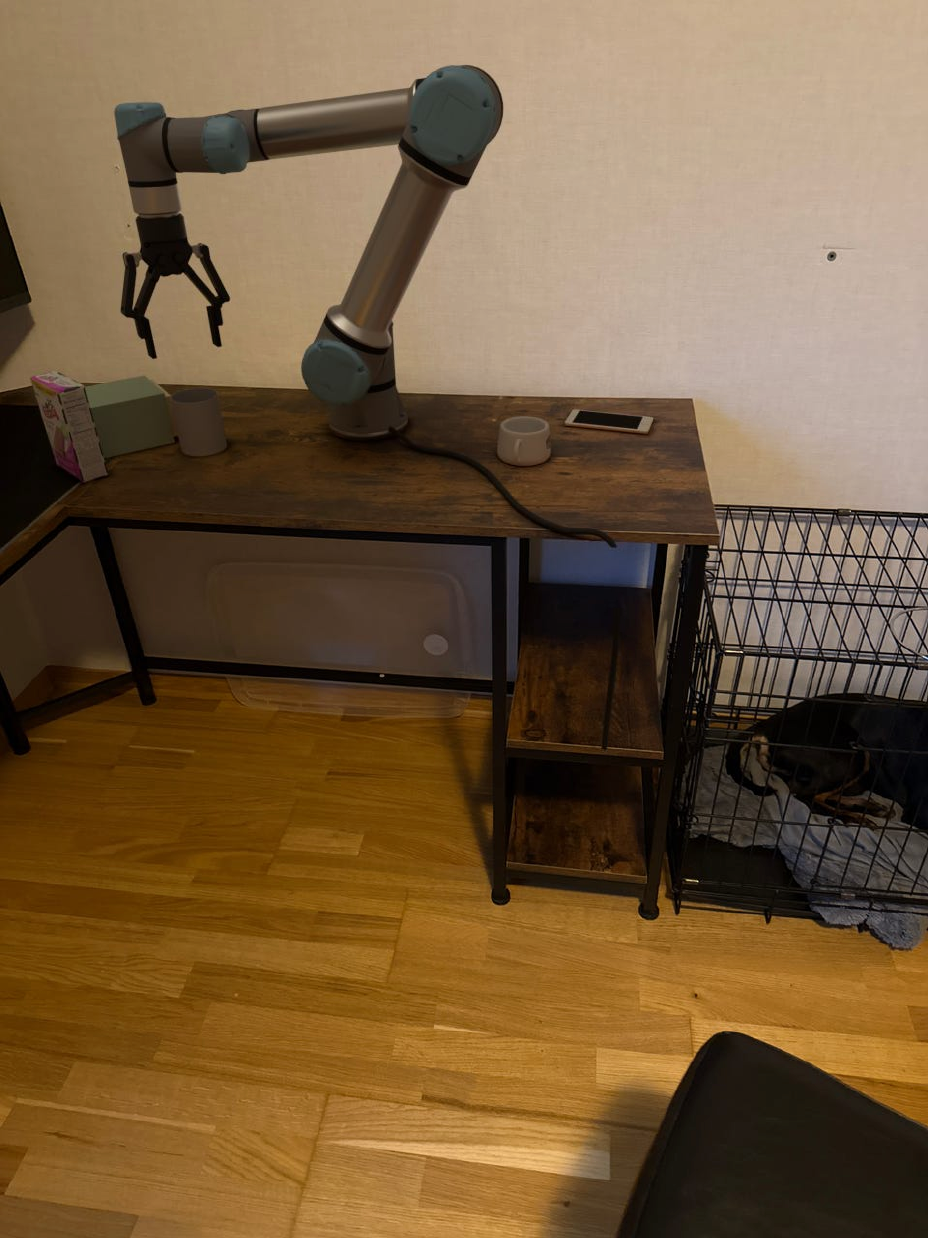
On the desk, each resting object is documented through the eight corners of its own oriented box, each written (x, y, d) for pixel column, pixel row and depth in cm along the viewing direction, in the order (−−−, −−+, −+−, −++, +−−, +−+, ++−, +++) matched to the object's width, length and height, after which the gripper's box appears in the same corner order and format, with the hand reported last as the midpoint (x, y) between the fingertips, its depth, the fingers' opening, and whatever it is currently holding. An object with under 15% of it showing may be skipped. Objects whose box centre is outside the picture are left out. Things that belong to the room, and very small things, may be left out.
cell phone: (647, 434, 162) (647, 431, 162) (564, 425, 167) (564, 422, 167) (653, 420, 169) (653, 416, 168) (573, 411, 173) (573, 408, 173)
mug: (503, 443, 160) (504, 412, 157) (555, 448, 158) (556, 417, 154) (487, 469, 150) (487, 437, 147) (542, 475, 148) (543, 442, 145)
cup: (214, 457, 157) (204, 404, 151) (173, 454, 158) (161, 401, 153) (234, 440, 164) (225, 388, 158) (194, 437, 165) (184, 386, 160)
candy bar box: (54, 466, 155) (27, 376, 146) (81, 458, 158) (56, 369, 149) (82, 484, 148) (56, 391, 139) (110, 475, 151) (85, 383, 142)
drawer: (183, 413, 174) (175, 375, 170) (202, 430, 166) (194, 390, 162) (91, 432, 166) (80, 393, 161) (107, 451, 158) (96, 410, 153)
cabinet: (155, 422, 172) (144, 375, 167) (175, 442, 163) (164, 392, 158) (79, 438, 166) (66, 390, 160) (96, 460, 157) (82, 409, 151)
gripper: (220, 203, 147) (240, 334, 159) (78, 218, 136) (112, 357, 148) (236, 209, 142) (256, 344, 154) (90, 224, 131) (124, 368, 143)
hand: (185, 350), depth 151 cm, fingers open, 11 cm apart
